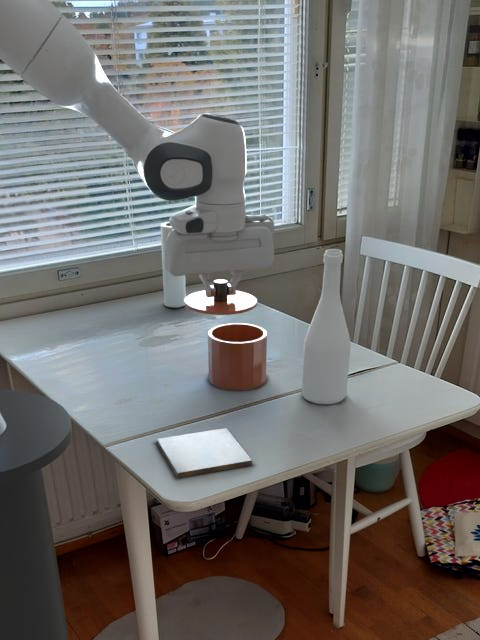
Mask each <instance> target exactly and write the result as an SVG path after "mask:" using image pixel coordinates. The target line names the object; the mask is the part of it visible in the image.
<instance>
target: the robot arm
mask: <svg viewBox="0 0 480 640" xmlns="http://www.w3.org/2000/svg"><path fill="white" fill-rule="evenodd" d="M0 61H2V62H3V63H4V64H5V65H7V67H9V69H11V70H12V71H13V72H14V73H15V74H16V75H17V76H19V78H21V80H23V82H25V83H26V84H27V85H28V86H29V87H31V88H33V90H35V91H36V92H37V93H39V94H40V95H41V96H43V97H45V98H46V99H48V100H49V101H50V102H52V103H54V104H55V105H57V106H60V107H62V108H66V109H70V110H73V111H76V112H79V113H80V114H83V115H84V116H86V117H87V118H89V119H90V120H91V121H93V122H94V123H95V124H96V125H97V126H99V127H100V129H102V130H103V131H104V132H105V133H106V134H107V135H108V136H109V137H110V138H112V139H113V140H114V141H115V142H116V143H117V144H118V145H119V146H120V147H121V148H122V149H123V150H124V151H125V152H126V153H127V155H128V156H129V157H130V160H131V162H132V164H133V167H134V168H135V171H136V173H137V175H138V176H139V178H140V179H141V181H142V182H143V183H145V186H146V187H147V189H148V190H149V191H150V192H151V193H152V194H153V195H154V196H156V197H157V198H159V199H161V200H164V201H167V202H168V201H169V202H170V201H171V202H174V201H180V200H186V199H191V198H195V204H193V205H192V206H190V207H187V208H185V209H181V210H180V211H178V212H175V213H173V214H171V215H170V216H169V222H170V225H171V227H172V228H173V230H171V231H170V232H169V234H168V236H167V240H166V250H165V266H166V269H167V270H168V271H169V273H171V274H172V275H173V276H184V275H185V276H194V275H198V276H199V279H200V280H201V282H202V284H203V285H204V288H205V289H204V290H205V294H206V296H207V297H215V296H216V293H215V292H216V288H215V287H214V284H210V282H209V281H208V280H210V279H211V274H216V273H218V274H219V273H228V272H230V273H231V275H232V277H231V279H230V282H228V295H235V294H236V291H237V286H238V284H239V282H240V280H241V279H242V277H243V271H252V270H262V269H270V268H272V266H273V264H274V263H275V247H274V246H275V245H274V238H273V237H274V236H275V221H274V219H272V217H271V216H268V215H267V214H259V215H258V214H257V215H253V214H250V215H246V205H247V201H246V200H247V199H246V198H247V197H246V192H245V188H244V187H245V186H244V185H245V179H246V175H247V144H246V135H245V130H244V128H243V126H242V125H241V124H240V122H238V121H237V120H236V119H234V118H232V117H230V116H225V115H222V114H217V113H210V112H204V113H201V114H199V115H198V116H197V118H196V119H194V120H193V121H192V122H190V123H188V125H185V126H184V127H183V128H181V129H178V130H177V131H173V130H172V129H168V128H166V127H163V126H160V125H157V124H154V123H153V122H152V121H150V120H149V119H147V118H146V117H145V116H144V115H143V114H142V113H141V112H140V111H139V110H137V108H135V106H133V105H132V103H130V102H129V100H128V99H126V98H125V96H123V95H122V94H121V93H120V92H119V91H118V90H117V89H116V87H114V85H113V84H112V83H111V81H110V80H109V78H108V77H107V75H106V73H105V72H104V69H103V67H102V65H101V63H100V61H99V58H98V55H97V54H96V52H95V51H94V49H93V48H92V47H91V45H90V44H89V43H88V41H87V40H86V39H85V38H84V36H83V34H82V33H81V32H80V31H79V30H78V29H77V27H75V25H74V24H73V23H72V22H71V21H70V20H69V19H68V18H67V17H66V15H64V14H63V13H62V12H61V11H60V10H59V9H58V7H56V6H55V5H54V4H53V3H52V2H51V1H50V0H0ZM5 429H6V422H5V421H4V419H3V417H2V415H1V413H0V435H1V434H2V433H3V432H4V431H5Z"/></svg>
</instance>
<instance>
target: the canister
mask: <svg viewBox="0 0 480 640" xmlns="http://www.w3.org/2000/svg"><path fill="white" fill-rule="evenodd" d="M267 346H268V331H267V330H266V329H265V328H263V327H262V326H259V325H256V324H251V323H244V322H243V323H242V322H232V323H223V324H219V325H216V326H213V327H212V328H210V329H209V330H208V333H207V357H208V360H207V362H208V363H207V365H208V381H209V383H210V384H212V385H213V386H215V387H216V388H219V389H222V390H229V391H248V390H253V389H257V388H260V386H262V385H264V384H265V383H266V380H267V351H268V348H267Z"/></svg>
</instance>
